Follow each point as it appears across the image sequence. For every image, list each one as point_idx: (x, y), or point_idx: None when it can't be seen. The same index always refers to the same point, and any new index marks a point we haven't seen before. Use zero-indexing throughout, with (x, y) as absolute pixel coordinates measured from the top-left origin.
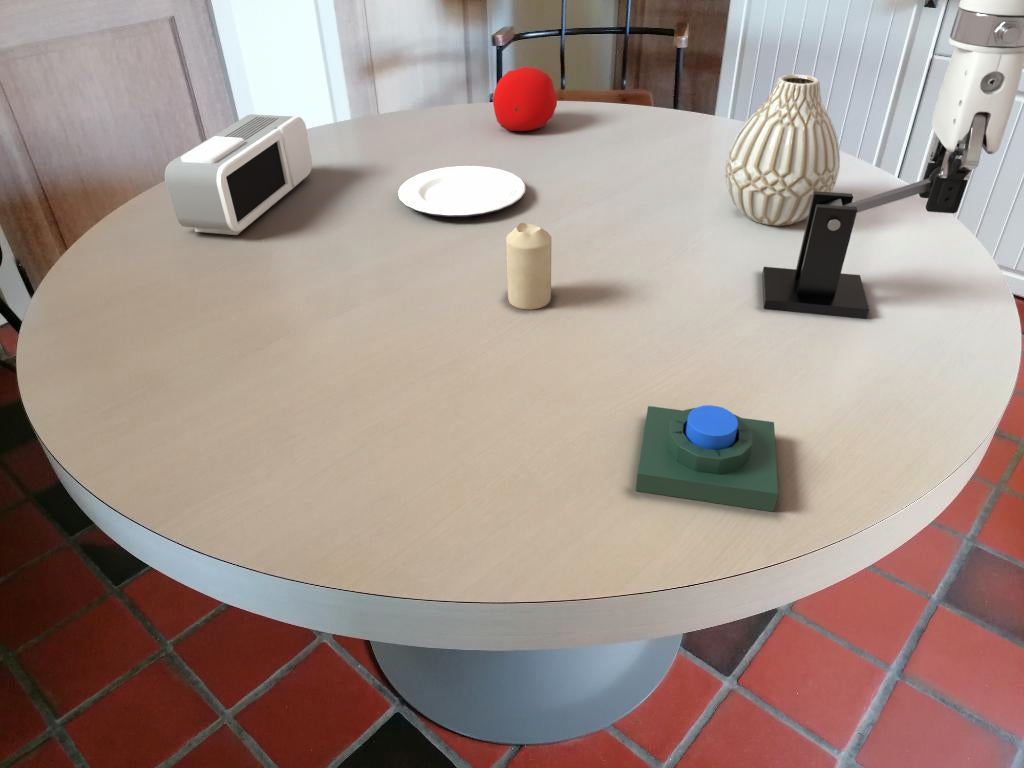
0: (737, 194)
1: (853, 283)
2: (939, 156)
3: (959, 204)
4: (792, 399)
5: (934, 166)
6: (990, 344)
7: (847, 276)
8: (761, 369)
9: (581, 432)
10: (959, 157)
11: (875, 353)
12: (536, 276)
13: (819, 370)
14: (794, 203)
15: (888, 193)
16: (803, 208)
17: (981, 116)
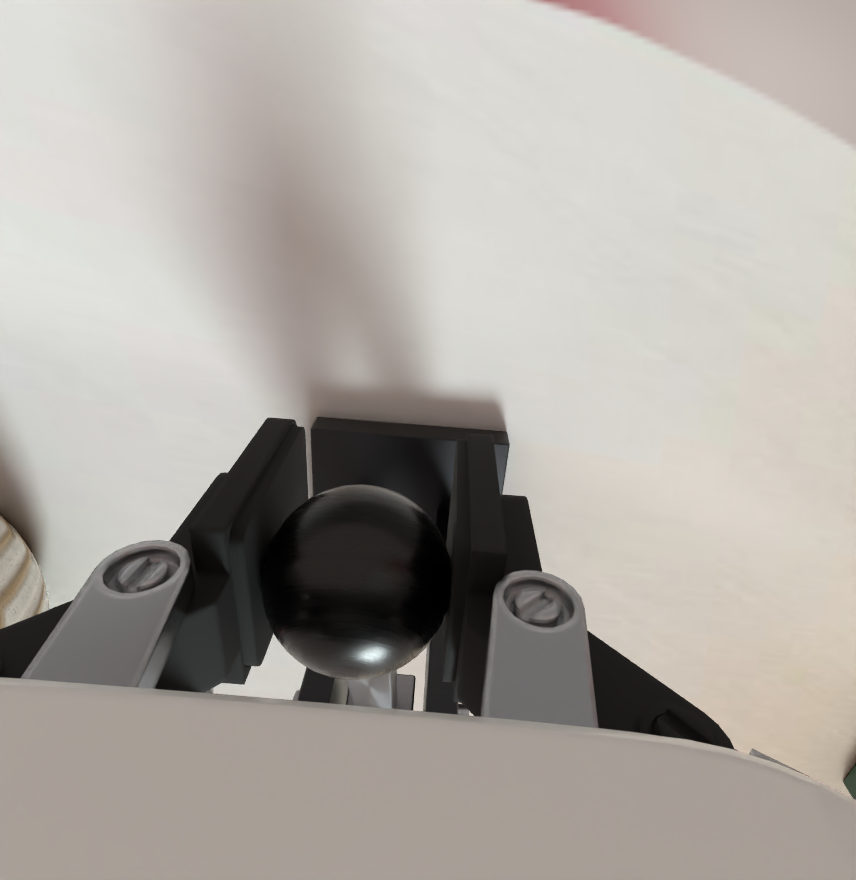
0: None
1: (366, 454)
2: (200, 689)
3: (493, 454)
4: (820, 612)
5: (255, 652)
6: (636, 118)
7: (328, 461)
8: (712, 643)
9: None
10: (178, 583)
11: (668, 443)
12: None
13: (727, 558)
14: (14, 598)
15: (375, 690)
16: (2, 557)
17: None
